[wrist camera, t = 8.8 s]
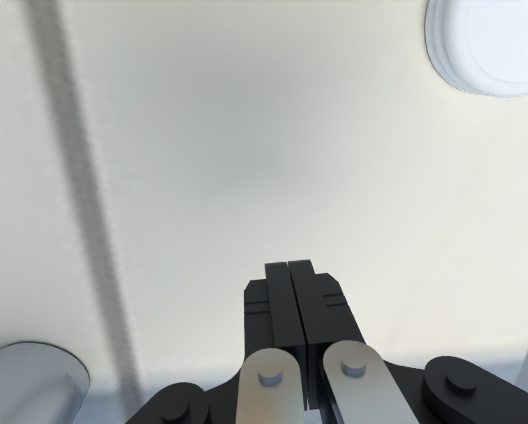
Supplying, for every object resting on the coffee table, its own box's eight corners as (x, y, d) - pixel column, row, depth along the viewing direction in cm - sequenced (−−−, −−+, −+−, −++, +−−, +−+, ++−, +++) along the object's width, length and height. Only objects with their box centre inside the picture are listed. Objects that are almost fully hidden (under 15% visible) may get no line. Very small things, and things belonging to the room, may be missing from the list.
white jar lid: (607, -53, 21) (675, -74, 17) (519, 109, 24) (561, 116, 21) (468, -111, 19) (514, -146, 16) (397, 72, 23) (422, 73, 20)
